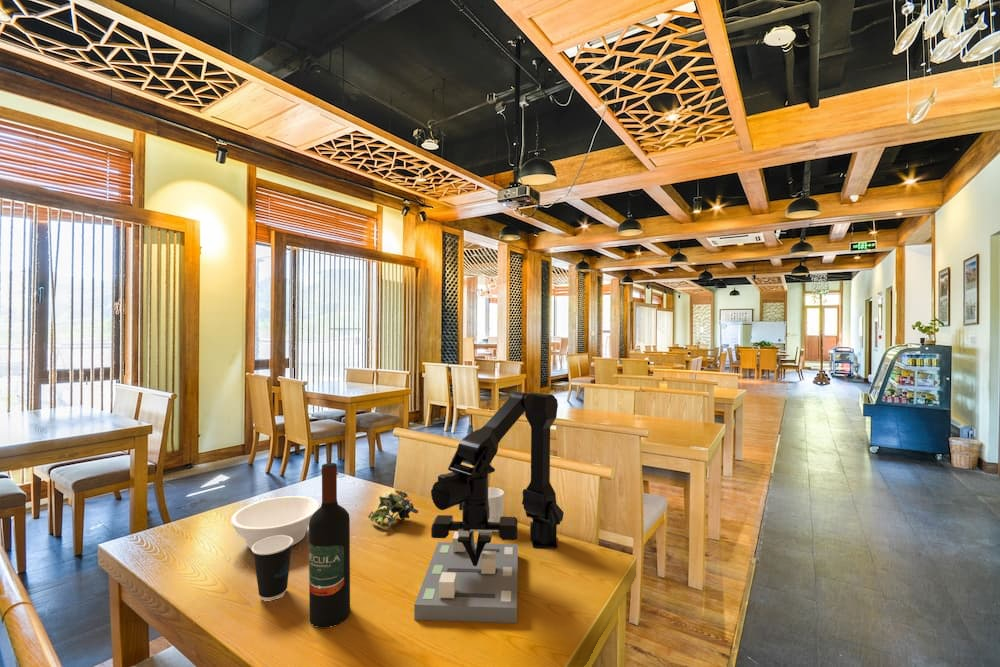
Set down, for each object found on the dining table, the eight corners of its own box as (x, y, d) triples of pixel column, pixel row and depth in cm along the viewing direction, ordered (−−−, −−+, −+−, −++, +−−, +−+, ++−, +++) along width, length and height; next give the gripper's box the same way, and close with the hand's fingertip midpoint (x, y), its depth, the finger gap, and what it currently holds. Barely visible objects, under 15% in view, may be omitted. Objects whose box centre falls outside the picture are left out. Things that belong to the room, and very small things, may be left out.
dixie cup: (288, 603, 92) (288, 550, 92) (246, 609, 90) (246, 555, 90) (297, 581, 100) (296, 533, 100) (258, 586, 98) (258, 537, 98)
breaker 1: (456, 587, 92) (456, 572, 92) (453, 598, 88) (453, 582, 88) (442, 587, 92) (441, 572, 92) (438, 597, 89) (438, 581, 89)
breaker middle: (496, 565, 101) (496, 551, 100) (495, 573, 97) (495, 559, 97) (482, 564, 101) (482, 550, 101) (481, 573, 97) (481, 559, 97)
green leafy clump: (401, 537, 132) (425, 504, 132) (385, 548, 121) (412, 512, 122) (374, 512, 135) (398, 479, 135) (356, 520, 124) (382, 485, 125)
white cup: (507, 523, 129) (507, 489, 129) (498, 535, 122) (498, 499, 122) (482, 519, 132) (482, 485, 132) (471, 531, 125) (471, 495, 124)
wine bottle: (358, 609, 90) (357, 462, 90) (329, 632, 83) (328, 473, 83) (330, 599, 93) (329, 457, 93) (300, 621, 87) (299, 468, 86)
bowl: (211, 552, 113) (211, 520, 113) (280, 518, 132) (280, 491, 132) (272, 569, 105) (272, 535, 105) (336, 531, 124) (336, 502, 124)
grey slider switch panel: (517, 556, 111) (517, 543, 111) (516, 623, 86) (516, 607, 86) (438, 553, 112) (438, 541, 112) (414, 619, 87) (414, 604, 87)
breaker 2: (466, 544, 110) (467, 531, 110) (465, 551, 106) (465, 538, 106) (454, 544, 110) (454, 531, 110) (452, 551, 107) (452, 538, 106)
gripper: (517, 483, 106) (517, 548, 107) (440, 481, 107) (440, 545, 108) (517, 502, 95) (517, 574, 96) (430, 500, 96) (430, 571, 97)
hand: (475, 565), depth 99 cm, fingers closed
